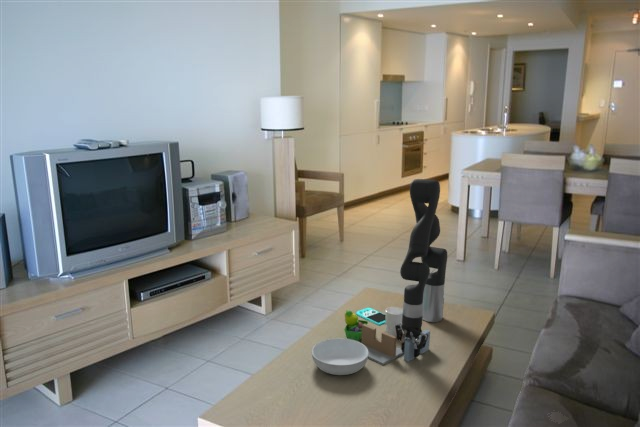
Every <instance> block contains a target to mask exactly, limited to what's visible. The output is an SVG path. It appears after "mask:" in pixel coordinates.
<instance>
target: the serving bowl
mask: <svg viewBox="0 0 640 427" xmlns="http://www.w3.org/2000/svg"><path fill="white" fill-rule="evenodd" d="M368 354H369V352H368V349H367V347H366V346H365V345H363V344H362V343H361V341H359V342H358V341H355V340H351V339H347V338H342V337H335V338H333V337H332V338H328V339H327V338H326V339H324V340H321V341H319V342H317V343H315V344H314V346H313V347H312V348H311V358H312V360H313V363H314V364H315V366H316V367H317V368H319V370H321V371H323V373H327V374H331V375H334V376H346V375H347V376H348V375H352V374H354V373H357V372H358V371H360V370H361V369H362V368H363V367H364V366H365V365H366V363H367V361H368V359H369V358H368Z"/></svg>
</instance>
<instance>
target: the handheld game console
mask: <svg viewBox="0 0 640 427" xmlns="http://www.w3.org/2000/svg"><path fill="white" fill-rule="evenodd" d="M355 315H357V317H360V318H362V319H364V320H365V321H367V322H368V321H369V322H371V323H372V322H373V324H375V325H377V326H381V325H385V324H386V321H385V313H382V312H380V311H378V310H376V309H374V308H371V307H365V308H363V309H360V310H357V311H356V313H355Z"/></svg>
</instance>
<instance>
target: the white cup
mask: <svg viewBox="0 0 640 427" xmlns="http://www.w3.org/2000/svg"><path fill="white" fill-rule="evenodd" d="M384 312H385V313H384V314H385V321H386V323H385V332H386V333H388V334H391V335H393V336H396V337H397V335H396V328H395V326H396V325H397V324H401V325H402V313H403V308H401V307H399V306H397V307H396V306H389V307H386V308H385V311H384Z"/></svg>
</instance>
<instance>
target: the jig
mask: <svg viewBox="0 0 640 427" xmlns="http://www.w3.org/2000/svg"><path fill="white" fill-rule="evenodd" d="M380 338H381V339H379V338H377V328H376V327H374V326H372V325H369V324H363V325H362V338H361V340H360V343H362V344H363V345H365V346H366V347H367V349H368V352H369V354H368V359H369V360H371V361H374V362H376V363H378V364H379V365H382V366H384V365H385V364H387V363H390V362H391V361H393V360H396V358H398V357H400V356H401V355H404V353H403V352H402V350H401V347H397V341H398V340H397V336H393V335H391V334H388V333H386V331H382V332H381V336H380Z"/></svg>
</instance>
